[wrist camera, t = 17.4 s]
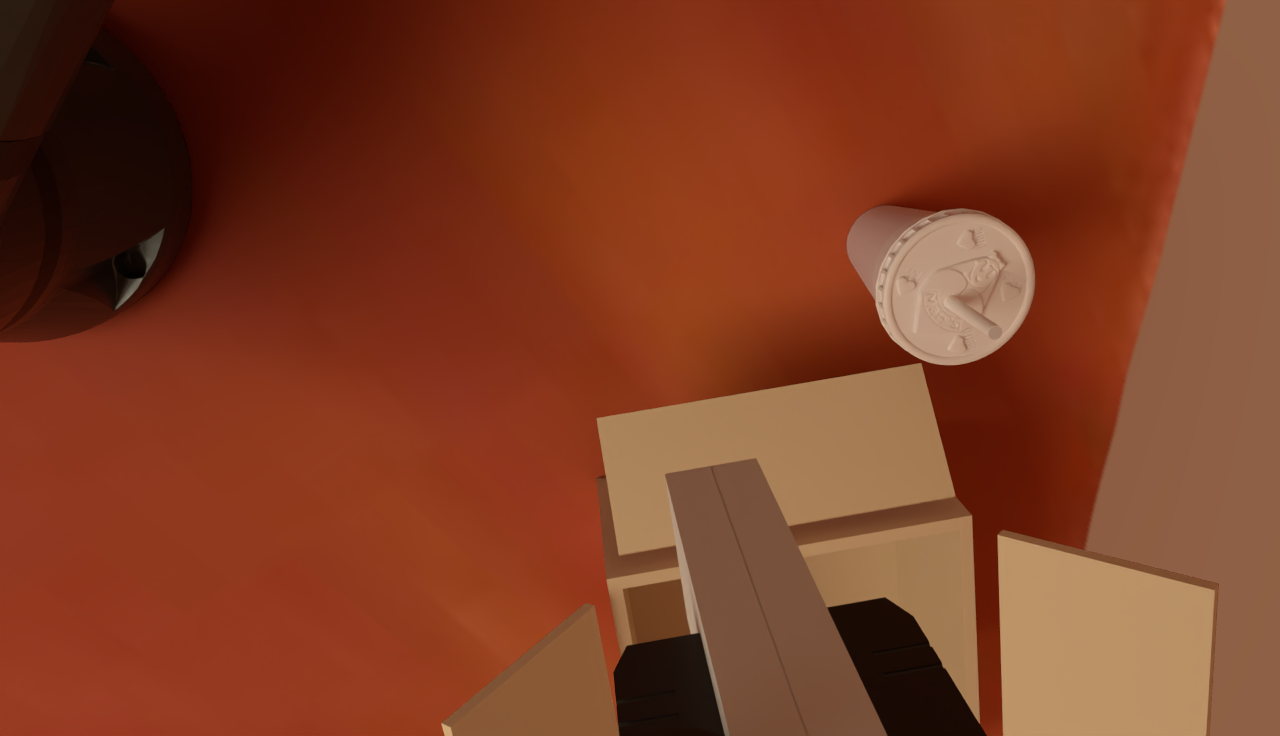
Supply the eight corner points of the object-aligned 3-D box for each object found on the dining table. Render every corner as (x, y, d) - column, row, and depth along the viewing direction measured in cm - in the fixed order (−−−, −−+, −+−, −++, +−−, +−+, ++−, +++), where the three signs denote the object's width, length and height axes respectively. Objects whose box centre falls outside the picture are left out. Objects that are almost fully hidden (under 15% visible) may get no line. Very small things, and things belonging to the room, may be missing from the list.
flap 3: (1198, 860, 40) (1202, 852, 40) (1214, 590, 36) (1218, 583, 36) (1004, 777, 46) (1008, 770, 46) (997, 534, 41) (1002, 529, 42)
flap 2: (596, 418, 43) (597, 420, 43) (618, 554, 41) (619, 555, 42) (921, 363, 43) (918, 366, 44) (955, 495, 42) (952, 497, 42)
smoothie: (793, 241, 48) (884, 321, 35) (893, 149, 47) (1027, 195, 34) (873, 330, 50) (989, 438, 37) (972, 243, 49) (1127, 322, 35)
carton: (636, 697, 56) (653, 833, 46) (596, 478, 51) (606, 579, 42) (910, 649, 56) (981, 773, 47) (895, 426, 52) (972, 515, 42)
